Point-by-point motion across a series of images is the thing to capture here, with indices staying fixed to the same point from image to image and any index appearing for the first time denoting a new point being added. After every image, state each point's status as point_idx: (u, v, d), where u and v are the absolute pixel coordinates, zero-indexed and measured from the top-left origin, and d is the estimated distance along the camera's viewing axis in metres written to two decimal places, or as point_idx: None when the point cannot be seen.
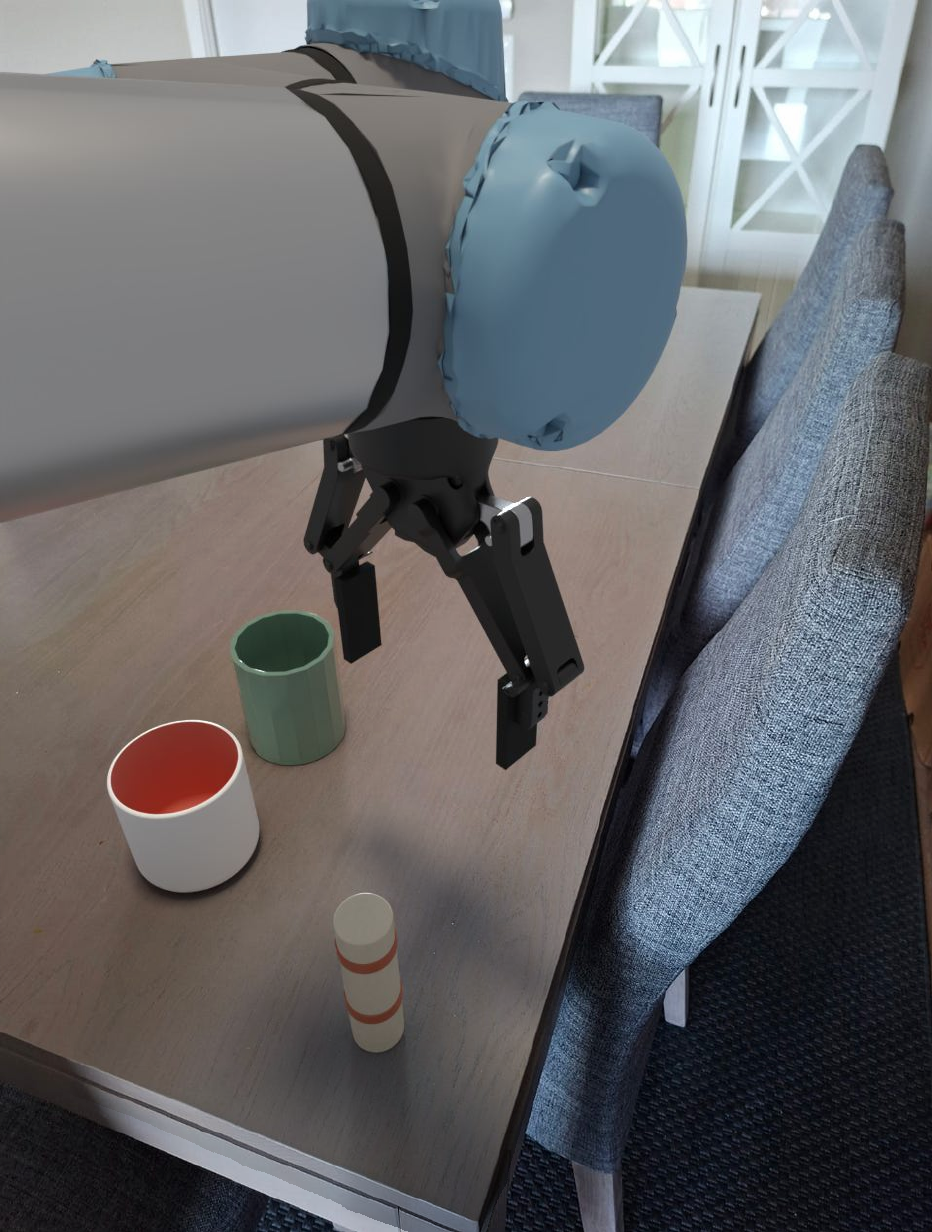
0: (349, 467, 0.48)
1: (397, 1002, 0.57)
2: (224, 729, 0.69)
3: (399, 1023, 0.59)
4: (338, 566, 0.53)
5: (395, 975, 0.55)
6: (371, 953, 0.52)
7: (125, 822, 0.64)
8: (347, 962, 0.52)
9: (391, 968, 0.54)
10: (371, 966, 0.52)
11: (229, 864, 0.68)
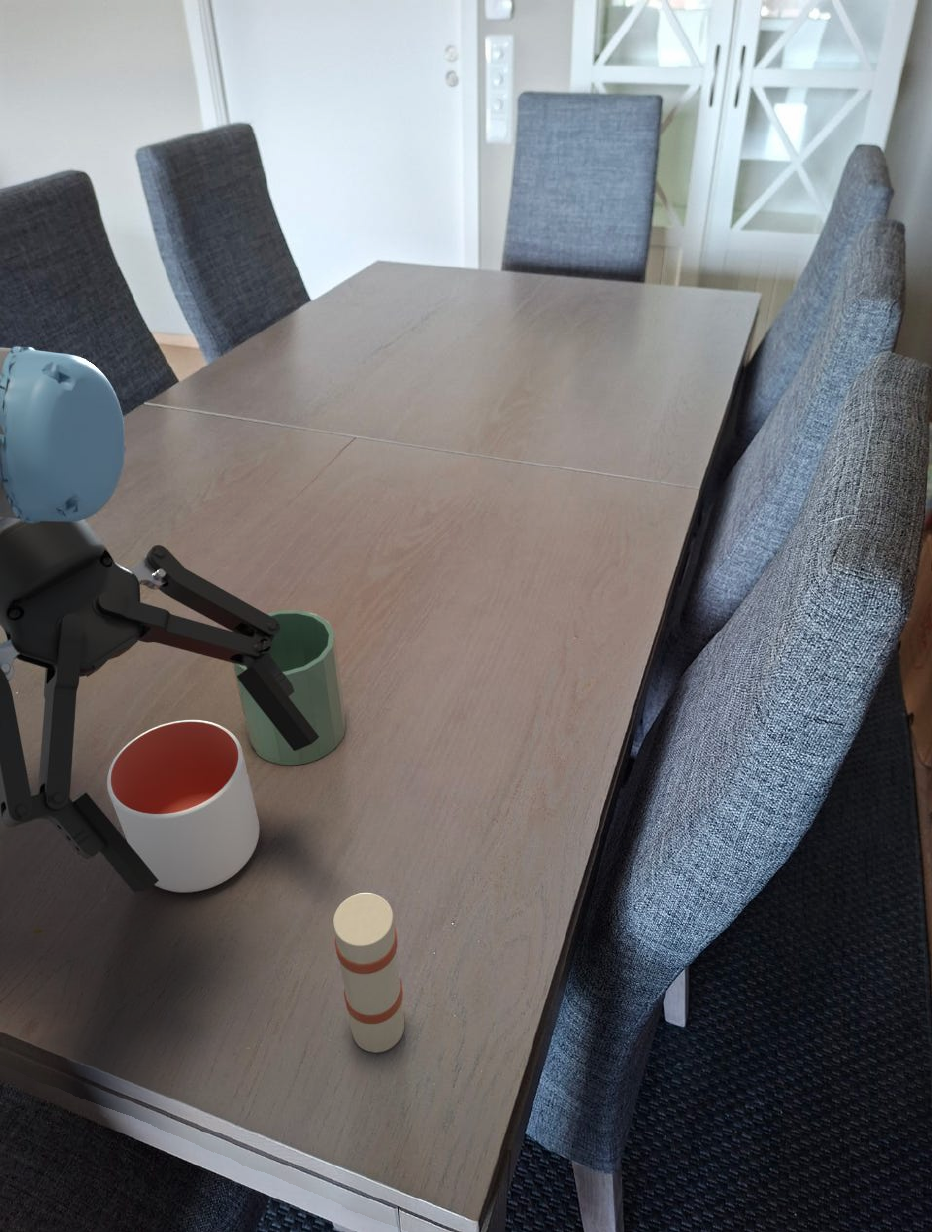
0: None
1: (397, 1002, 0.57)
2: (224, 729, 0.69)
3: (399, 1023, 0.59)
4: (68, 781, 0.49)
5: (395, 975, 0.55)
6: (371, 953, 0.52)
7: (125, 822, 0.64)
8: (347, 962, 0.52)
9: (391, 968, 0.54)
10: (371, 966, 0.52)
11: (229, 864, 0.68)
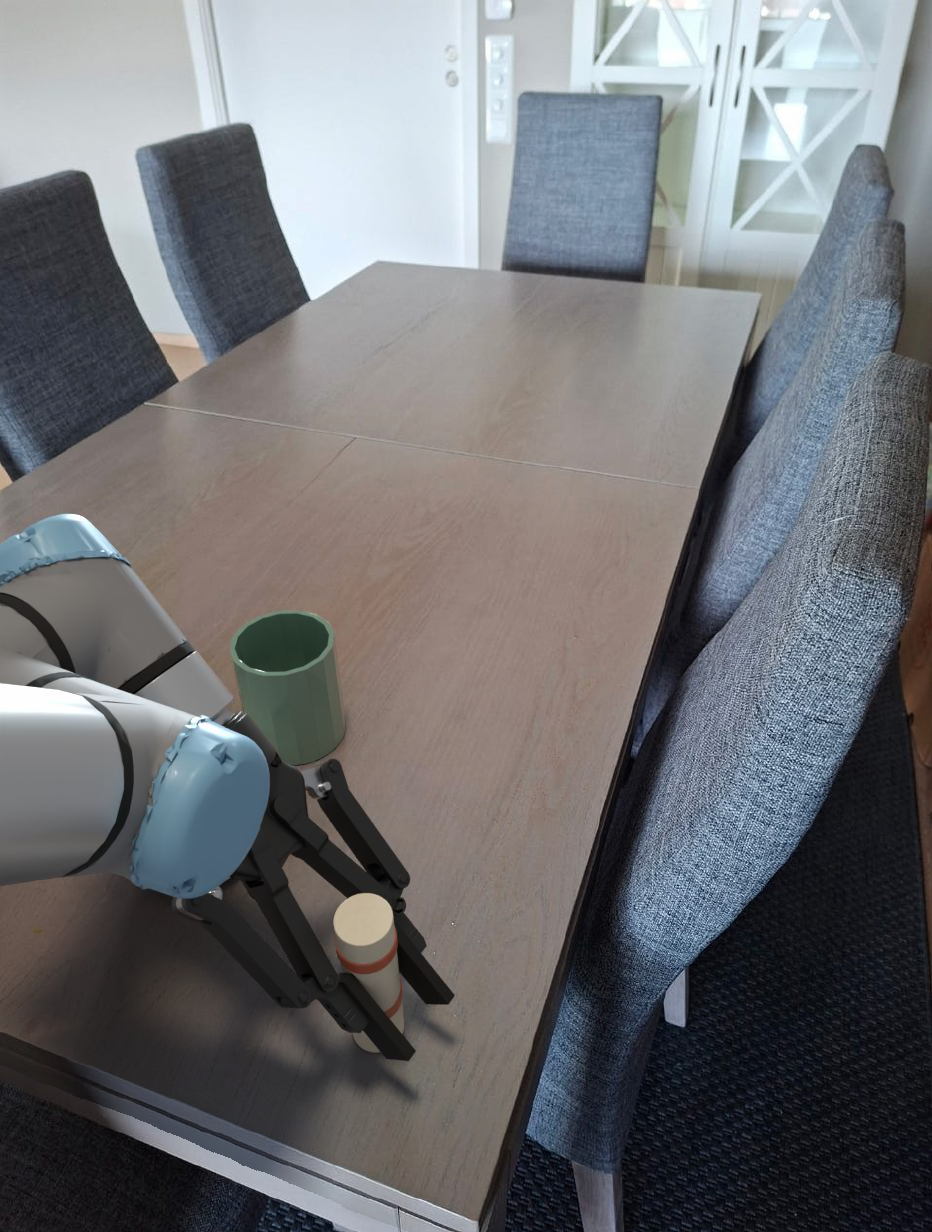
0: None
1: (397, 1002, 0.57)
2: None
3: (399, 1023, 0.59)
4: (328, 962, 0.53)
5: (395, 975, 0.55)
6: (371, 953, 0.52)
7: None
8: (347, 962, 0.52)
9: (391, 968, 0.54)
10: (371, 966, 0.52)
11: None
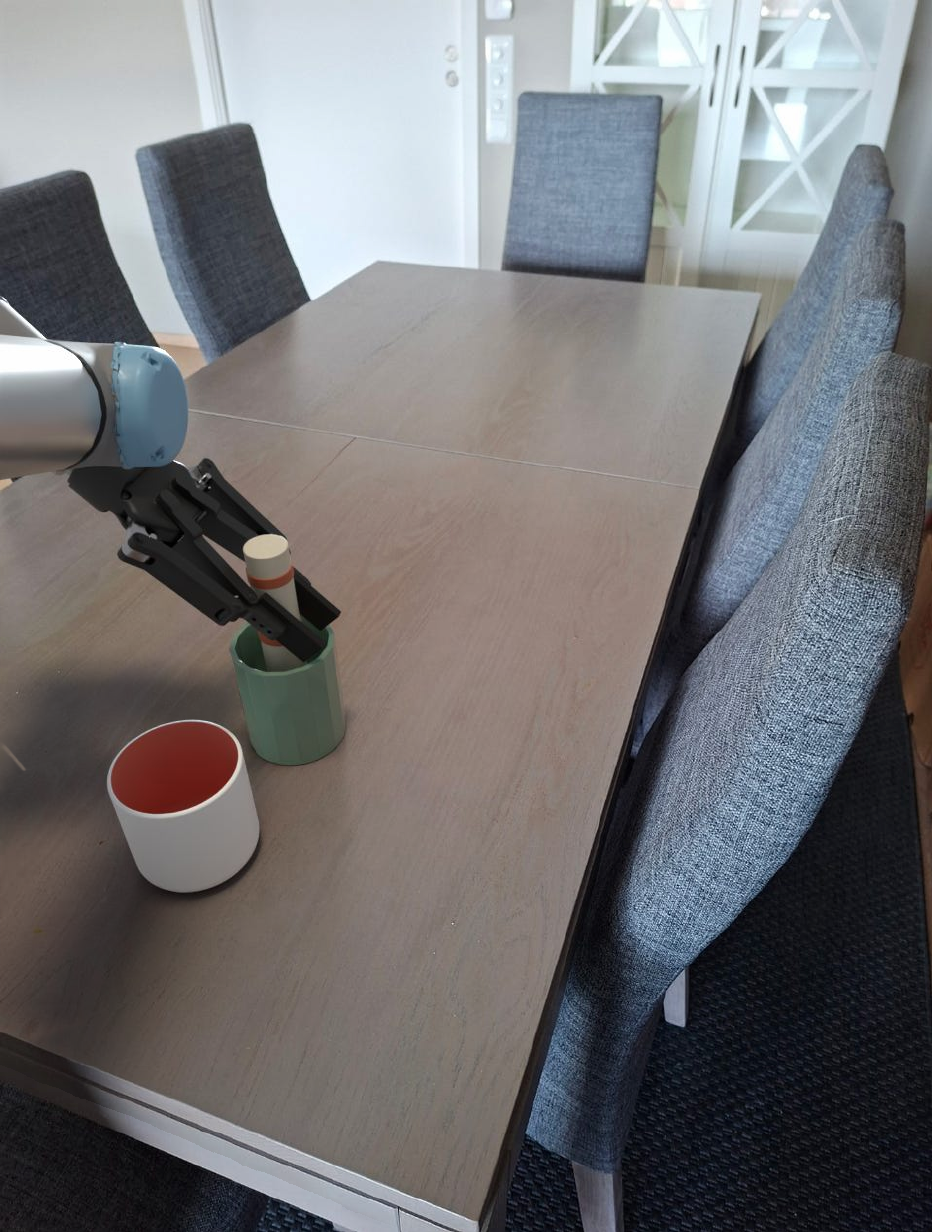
0: None
1: None
2: (224, 729, 0.69)
3: None
4: (247, 585, 0.70)
5: (296, 598, 0.74)
6: (279, 566, 0.70)
7: (125, 822, 0.64)
8: (261, 580, 0.70)
9: (293, 587, 0.72)
10: (280, 579, 0.71)
11: (229, 864, 0.68)
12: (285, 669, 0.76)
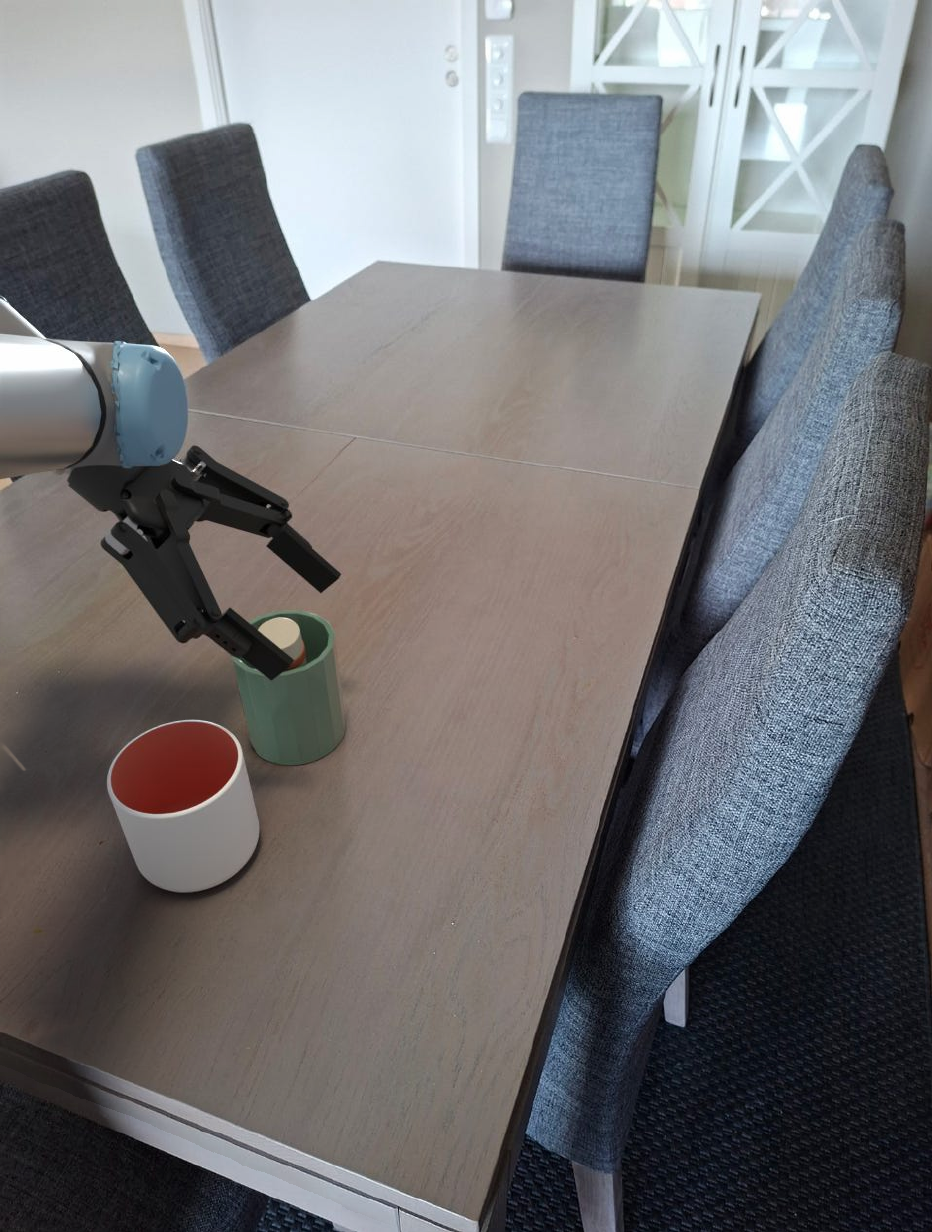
0: None
1: None
2: (224, 729, 0.69)
3: None
4: (215, 601, 0.67)
5: None
6: (290, 654, 0.73)
7: (125, 822, 0.64)
8: None
9: None
10: None
11: (229, 864, 0.68)
12: None
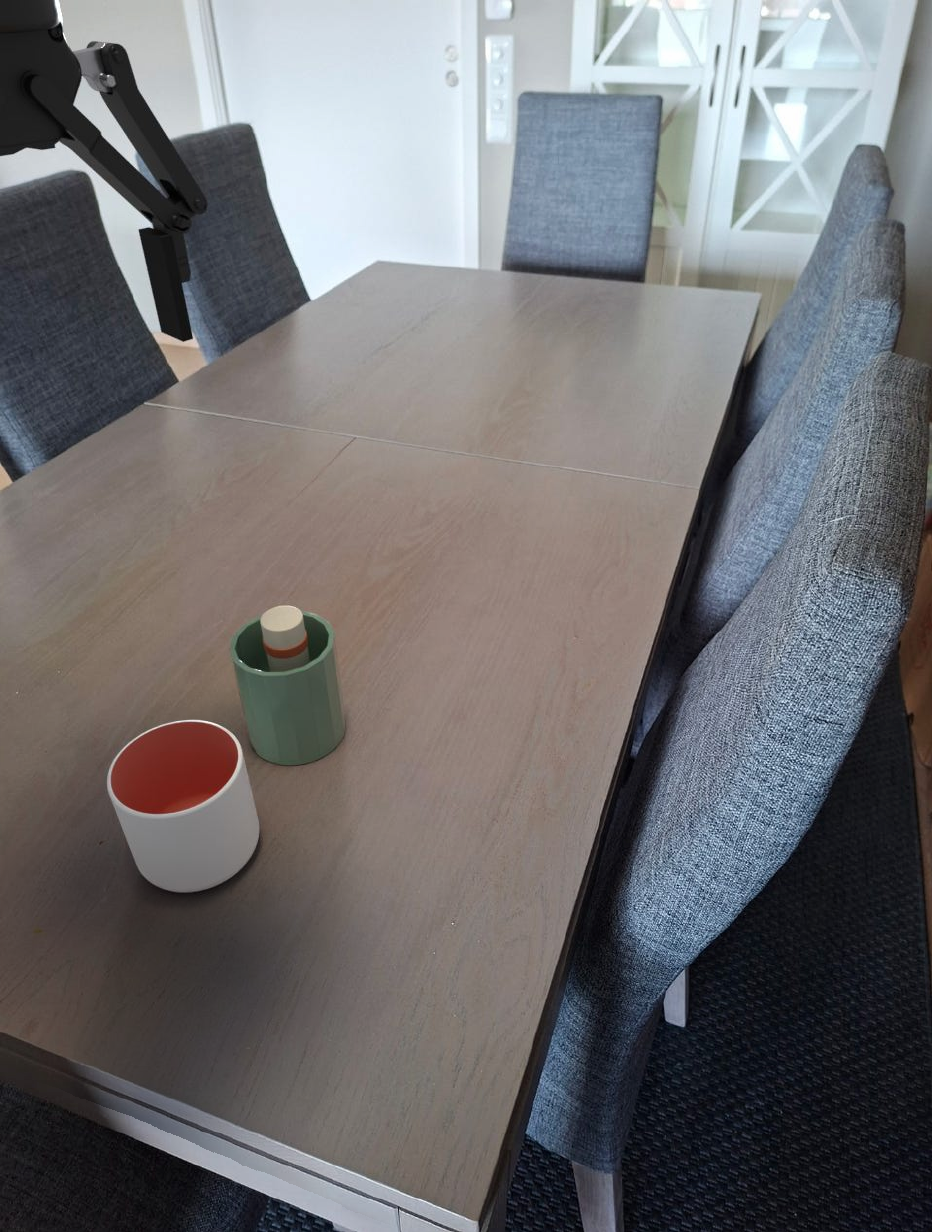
0: None
1: None
2: (224, 729, 0.69)
3: None
4: None
5: None
6: (292, 638, 0.74)
7: (125, 822, 0.64)
8: (276, 650, 0.75)
9: (306, 656, 0.77)
10: (293, 649, 0.75)
11: (229, 864, 0.68)
12: None
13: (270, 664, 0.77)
